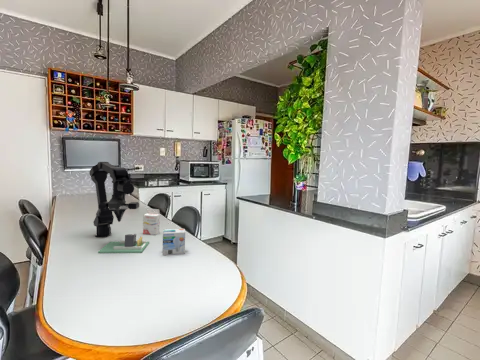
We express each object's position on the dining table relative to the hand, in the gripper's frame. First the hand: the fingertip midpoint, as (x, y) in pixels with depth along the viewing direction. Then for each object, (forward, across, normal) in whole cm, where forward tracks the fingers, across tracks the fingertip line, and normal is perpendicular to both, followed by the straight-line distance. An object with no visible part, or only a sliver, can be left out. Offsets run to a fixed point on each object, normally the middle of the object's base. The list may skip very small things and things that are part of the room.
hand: (119, 221), depth 130 cm
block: (+10, +8, -7) cm, 15 cm away
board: (+12, +5, -6) cm, 14 cm away
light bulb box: (+12, +30, -12) cm, 35 cm away
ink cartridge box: (+12, +12, +18) cm, 25 cm away
